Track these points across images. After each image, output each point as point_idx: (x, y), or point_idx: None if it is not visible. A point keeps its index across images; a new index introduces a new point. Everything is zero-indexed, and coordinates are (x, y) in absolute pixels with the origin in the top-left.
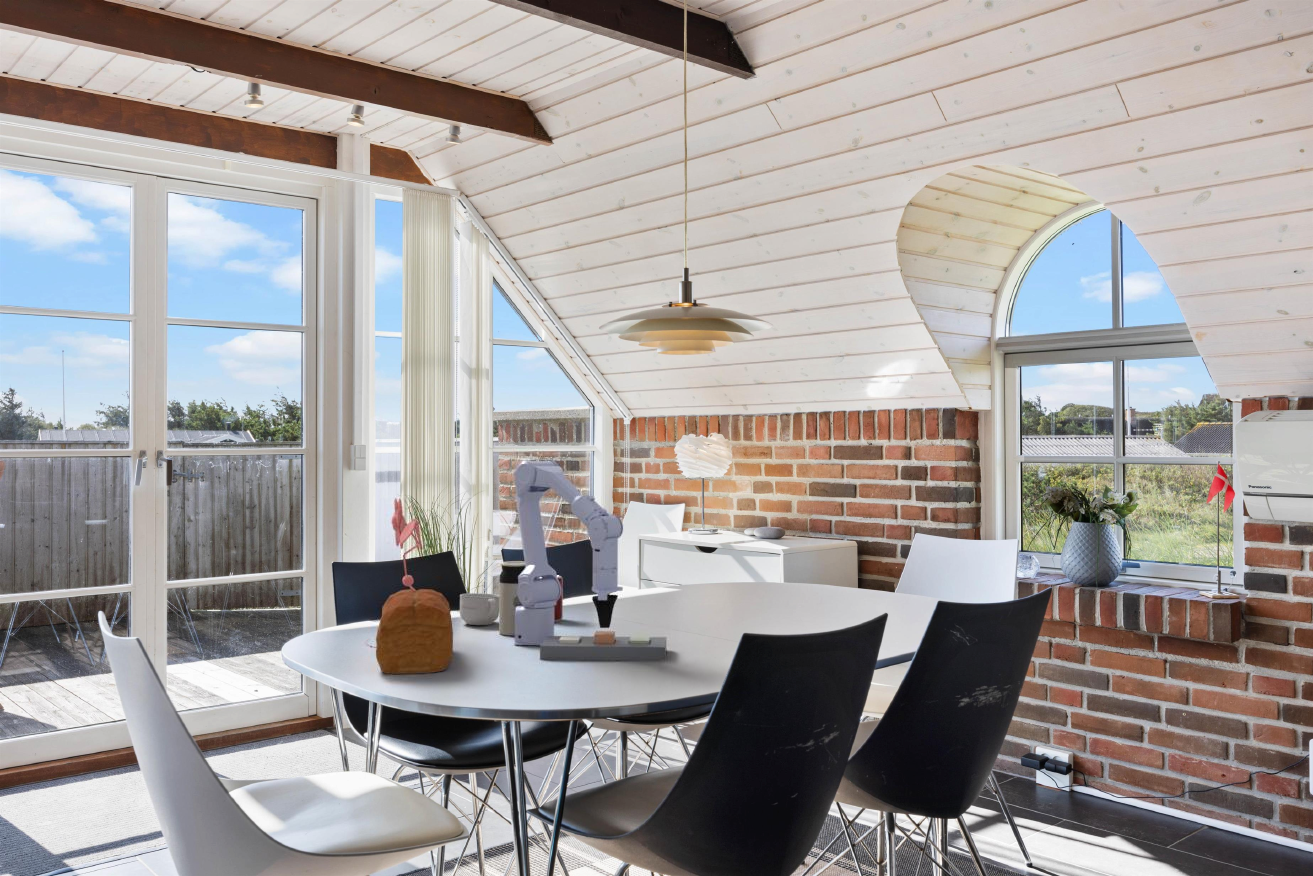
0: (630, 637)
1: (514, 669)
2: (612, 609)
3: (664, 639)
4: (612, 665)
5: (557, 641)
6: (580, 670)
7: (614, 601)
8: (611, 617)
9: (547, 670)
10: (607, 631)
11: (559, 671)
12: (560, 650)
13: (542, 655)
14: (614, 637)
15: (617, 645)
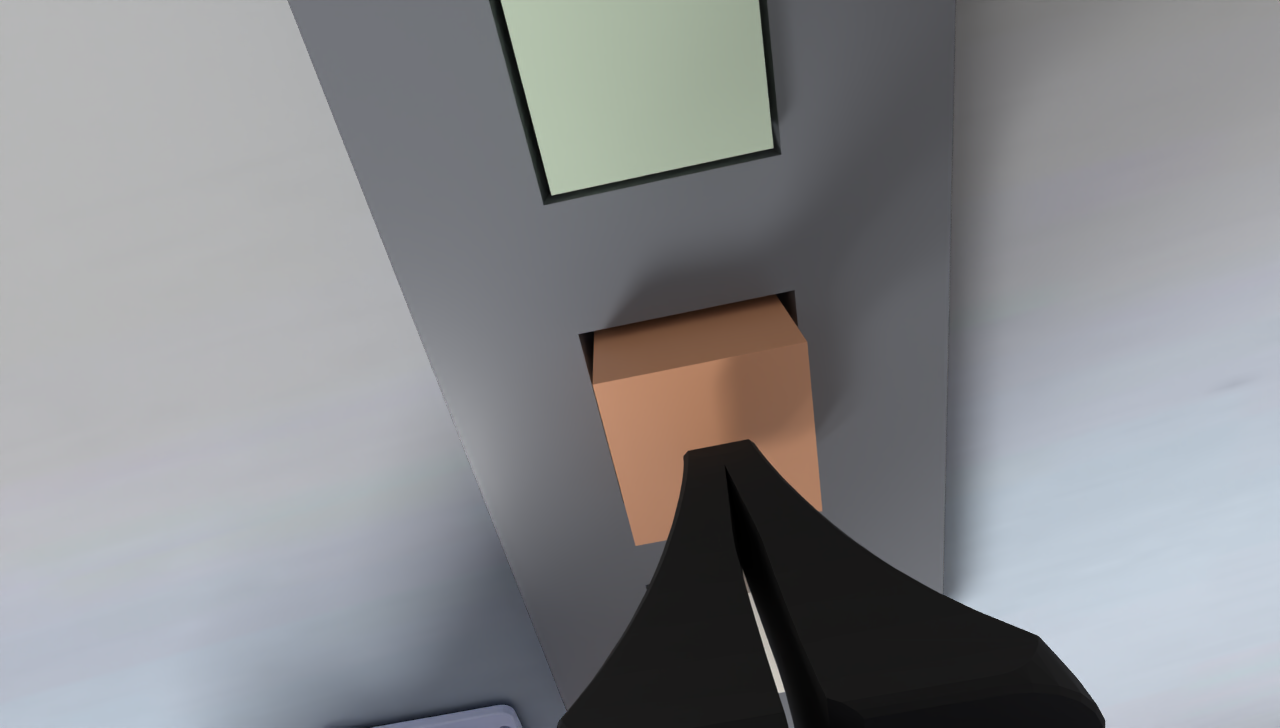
0: (588, 187)
1: (1162, 664)
2: (881, 562)
3: None
4: (1095, 176)
5: None
6: (1247, 353)
7: (1053, 655)
8: (717, 503)
9: (1213, 526)
10: (639, 447)
11: (1255, 461)
12: None
13: None
14: (676, 343)
15: (882, 240)
